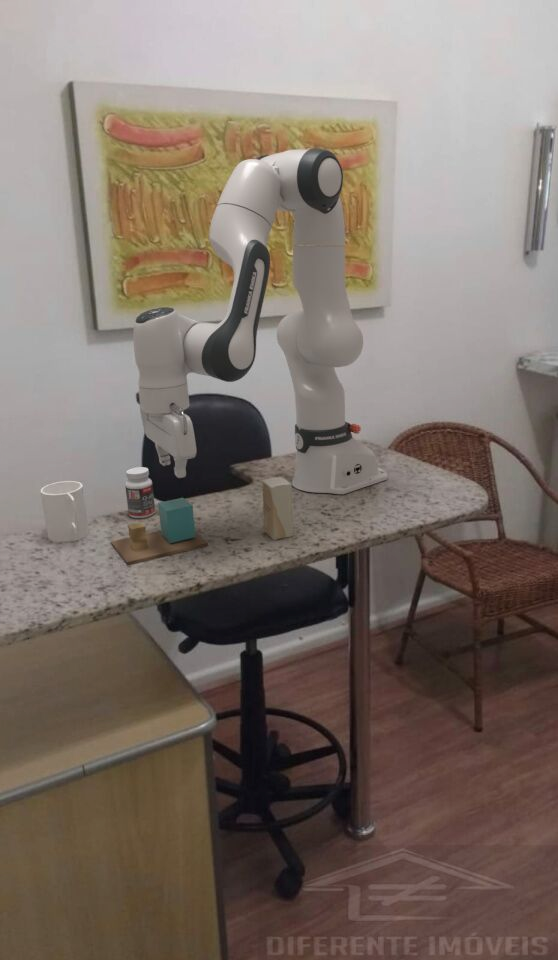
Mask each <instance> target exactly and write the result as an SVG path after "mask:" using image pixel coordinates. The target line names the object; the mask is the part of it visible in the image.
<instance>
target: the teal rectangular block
mask: <svg viewBox="0 0 558 960" xmlns="http://www.w3.org/2000/svg"><path fill="white" fill-rule="evenodd" d="M157 505H158V515H159V525H160V530H161V534H162V535H163V536H164V537H165V538H166V539H167V540H168V541H169V543H173V542H177V541H181V540H185V539H190V538H194V537H195V531H196V530H195V529H196V527H195V516H194V508H193V504H192V503H190V502H189V501H188V499H185V497H180V498H175V499H170V500H166V501H160V502H157Z"/></svg>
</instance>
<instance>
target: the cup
mask: <svg viewBox="0 0 558 960" xmlns="http://www.w3.org/2000/svg"><path fill="white" fill-rule="evenodd" d="M84 493H85V492H84V486H83V483H81V482H79V481H76V480H75V481H73V480H64V481H63V480H61V481H57V482H53V483H50V484H47V485H45V486H43V487H42V488H41V489H40V497H41V504H42V509H43V516H44V520H45V528H46V532H47V539H48V540H49V541H52V542H55V543H69V542H73V541H77V540H80V539H83V538H84V537H86V536H87V535H89V533H90V527H89V521H88V513H87V507H86V506H87V505H86V499H85V494H84Z"/></svg>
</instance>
